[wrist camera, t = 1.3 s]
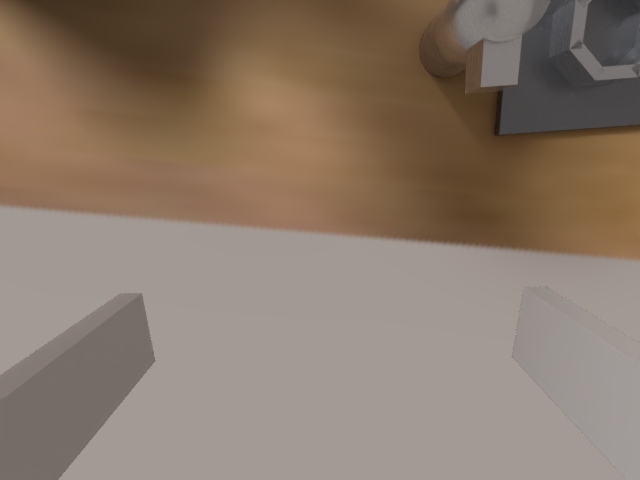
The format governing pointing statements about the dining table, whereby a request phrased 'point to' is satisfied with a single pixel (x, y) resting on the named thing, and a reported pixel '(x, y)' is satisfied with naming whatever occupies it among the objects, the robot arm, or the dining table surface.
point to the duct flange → (576, 70)
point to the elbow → (480, 41)
